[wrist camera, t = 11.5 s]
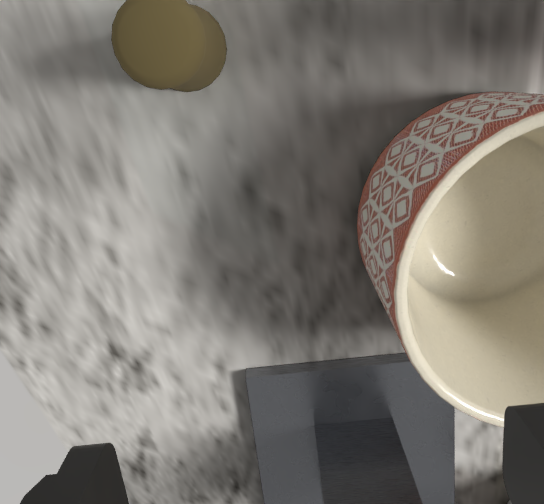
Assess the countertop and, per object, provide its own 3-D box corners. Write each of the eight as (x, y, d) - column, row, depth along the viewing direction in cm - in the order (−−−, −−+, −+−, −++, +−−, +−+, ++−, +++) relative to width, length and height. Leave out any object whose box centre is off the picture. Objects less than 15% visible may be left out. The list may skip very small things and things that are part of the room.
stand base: (448, 348, 46) (503, 433, 35) (449, 508, 52) (496, 623, 41) (246, 368, 47) (238, 458, 36) (269, 524, 52) (268, 642, 42)
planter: (640, 212, 42) (824, 281, 28) (455, 362, 47) (535, 486, 33) (493, 33, 38) (623, 9, 24) (304, 217, 42) (321, 288, 28)
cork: (196, 108, 40) (169, 120, 29) (128, 57, 38) (74, 51, 28) (243, 39, 38) (231, 26, 28) (173, -16, 37) (134, -52, 26)
